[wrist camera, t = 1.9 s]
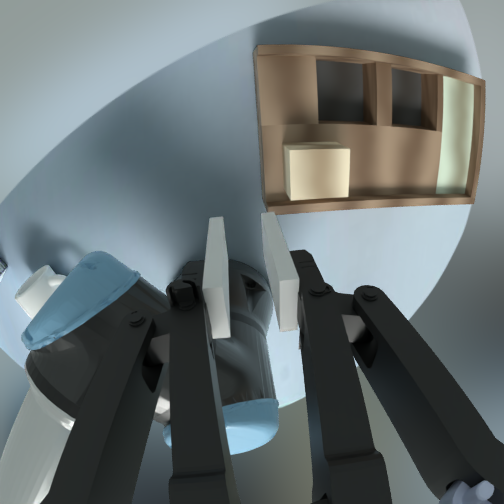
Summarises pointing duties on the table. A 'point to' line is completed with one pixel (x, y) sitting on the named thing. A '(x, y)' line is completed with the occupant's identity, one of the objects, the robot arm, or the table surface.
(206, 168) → the table surface
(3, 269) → the ink box
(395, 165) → the track
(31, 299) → the mug
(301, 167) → the block
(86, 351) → the robot arm
